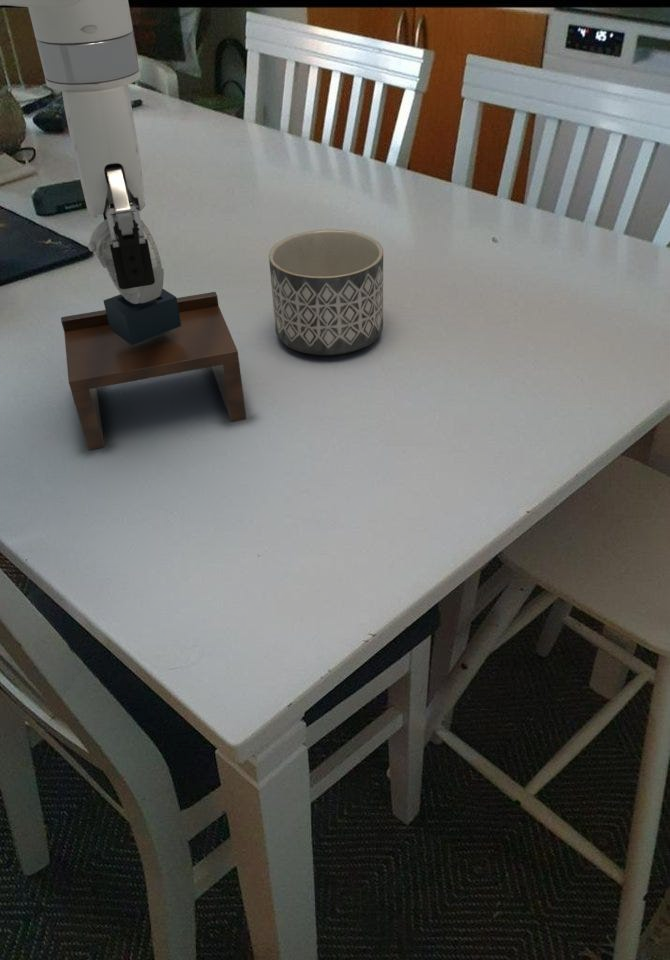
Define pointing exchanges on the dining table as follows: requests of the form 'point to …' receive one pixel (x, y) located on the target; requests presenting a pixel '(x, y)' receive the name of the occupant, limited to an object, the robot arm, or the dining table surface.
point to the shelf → (149, 358)
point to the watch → (136, 294)
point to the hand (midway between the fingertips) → (132, 264)
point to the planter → (327, 291)
